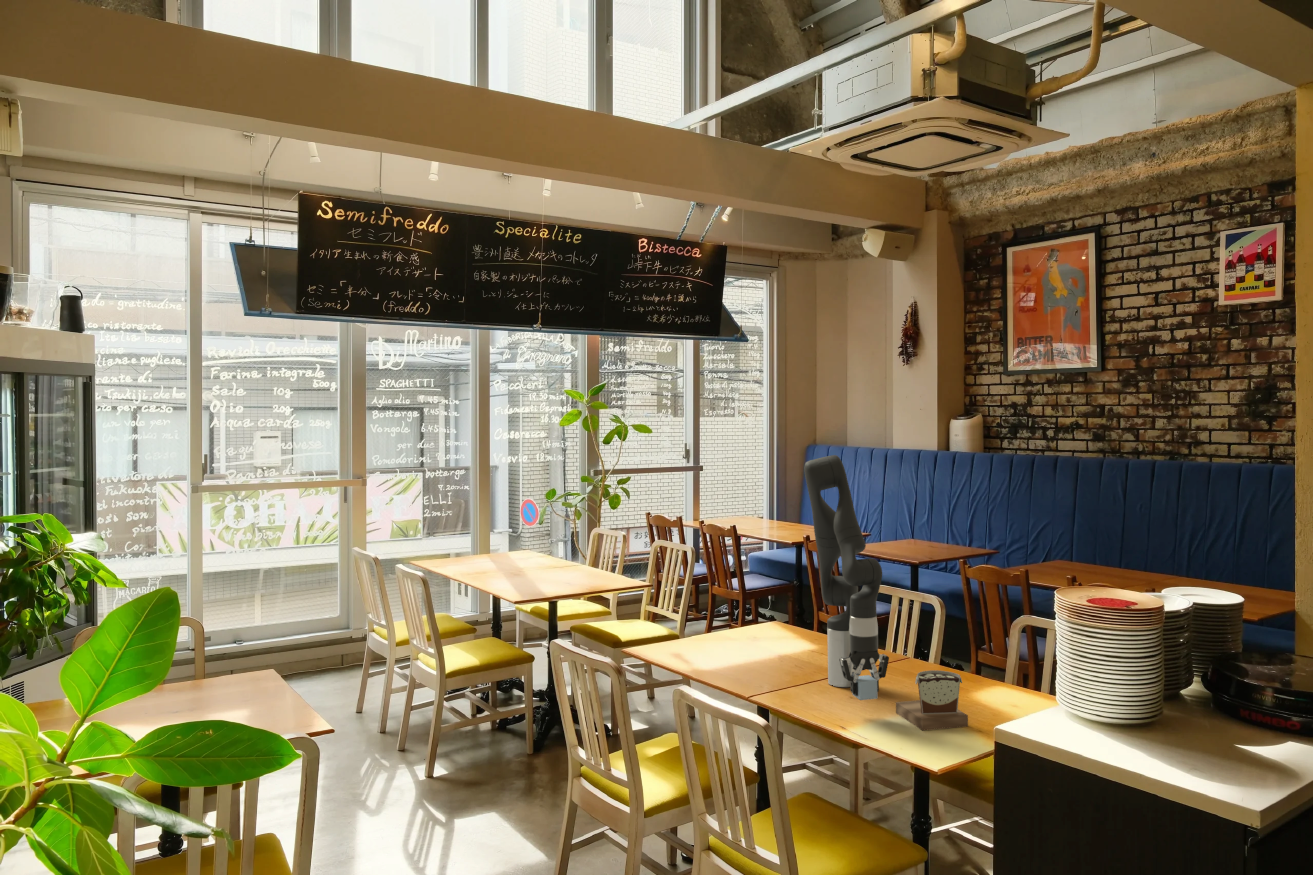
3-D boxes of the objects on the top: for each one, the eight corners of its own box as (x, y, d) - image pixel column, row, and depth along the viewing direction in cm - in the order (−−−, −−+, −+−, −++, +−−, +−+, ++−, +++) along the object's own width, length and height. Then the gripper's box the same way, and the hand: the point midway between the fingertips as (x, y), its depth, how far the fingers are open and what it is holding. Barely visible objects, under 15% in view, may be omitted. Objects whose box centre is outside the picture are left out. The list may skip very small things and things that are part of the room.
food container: (953, 705, 241) (953, 669, 241) (962, 712, 235) (962, 675, 235) (909, 707, 241) (908, 670, 241) (916, 714, 234) (916, 676, 234)
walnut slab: (895, 712, 245) (895, 702, 245) (939, 709, 248) (938, 698, 248) (922, 730, 231) (922, 718, 231) (968, 726, 233) (967, 715, 233)
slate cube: (852, 694, 244) (852, 676, 244) (869, 693, 245) (868, 675, 245) (860, 700, 239) (860, 681, 239) (877, 698, 240) (877, 680, 240)
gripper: (844, 637, 237) (846, 700, 237) (894, 633, 240) (895, 695, 240) (833, 631, 244) (834, 692, 244) (881, 627, 247) (882, 687, 247)
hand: (864, 693), depth 242 cm, fingers closed on slate cube, 5 cm apart
